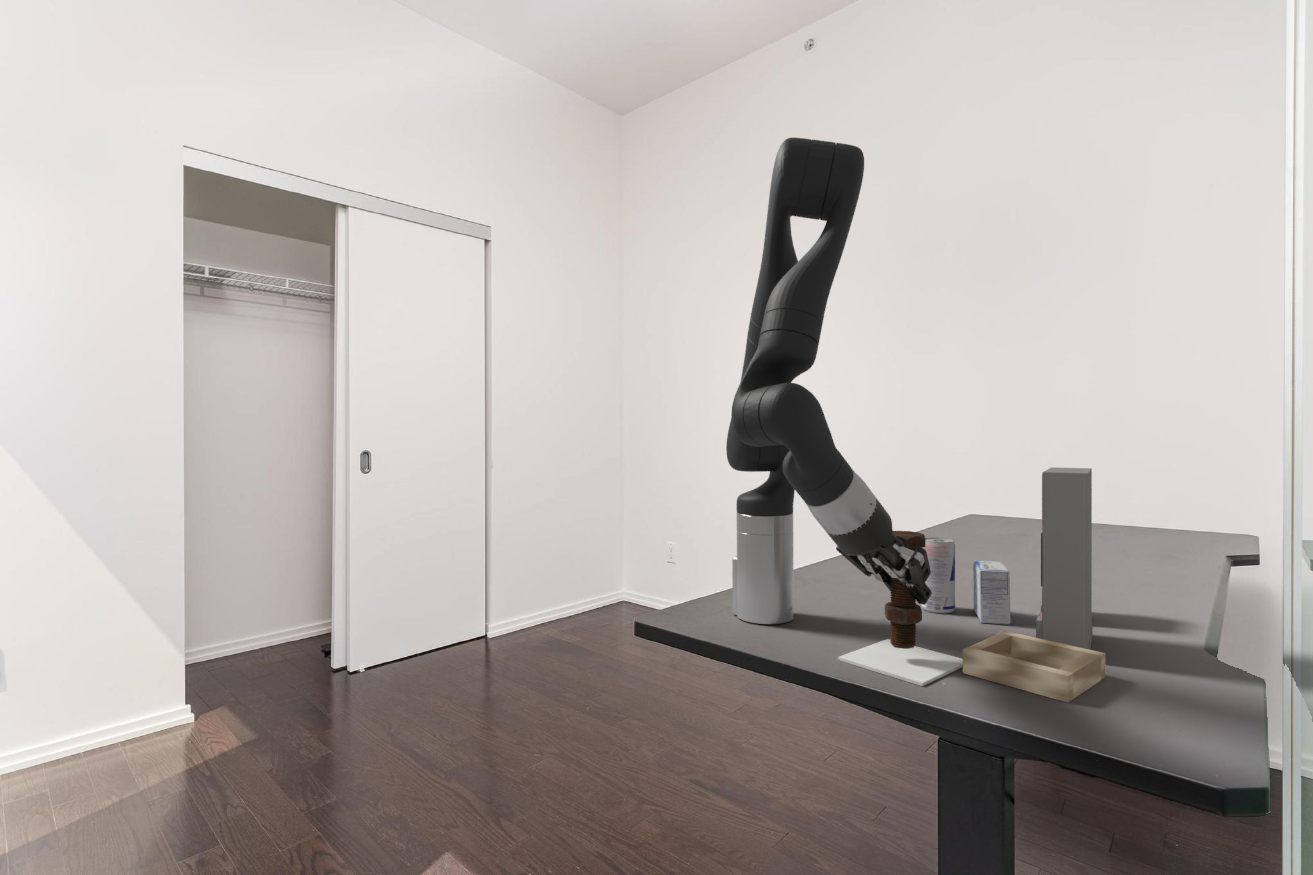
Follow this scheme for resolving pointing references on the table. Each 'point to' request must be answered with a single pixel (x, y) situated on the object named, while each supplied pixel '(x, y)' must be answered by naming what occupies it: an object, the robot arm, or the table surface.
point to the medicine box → (991, 592)
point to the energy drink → (941, 575)
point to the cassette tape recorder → (1066, 557)
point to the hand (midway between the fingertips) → (913, 595)
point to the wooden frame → (1035, 665)
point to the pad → (904, 662)
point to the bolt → (904, 600)
